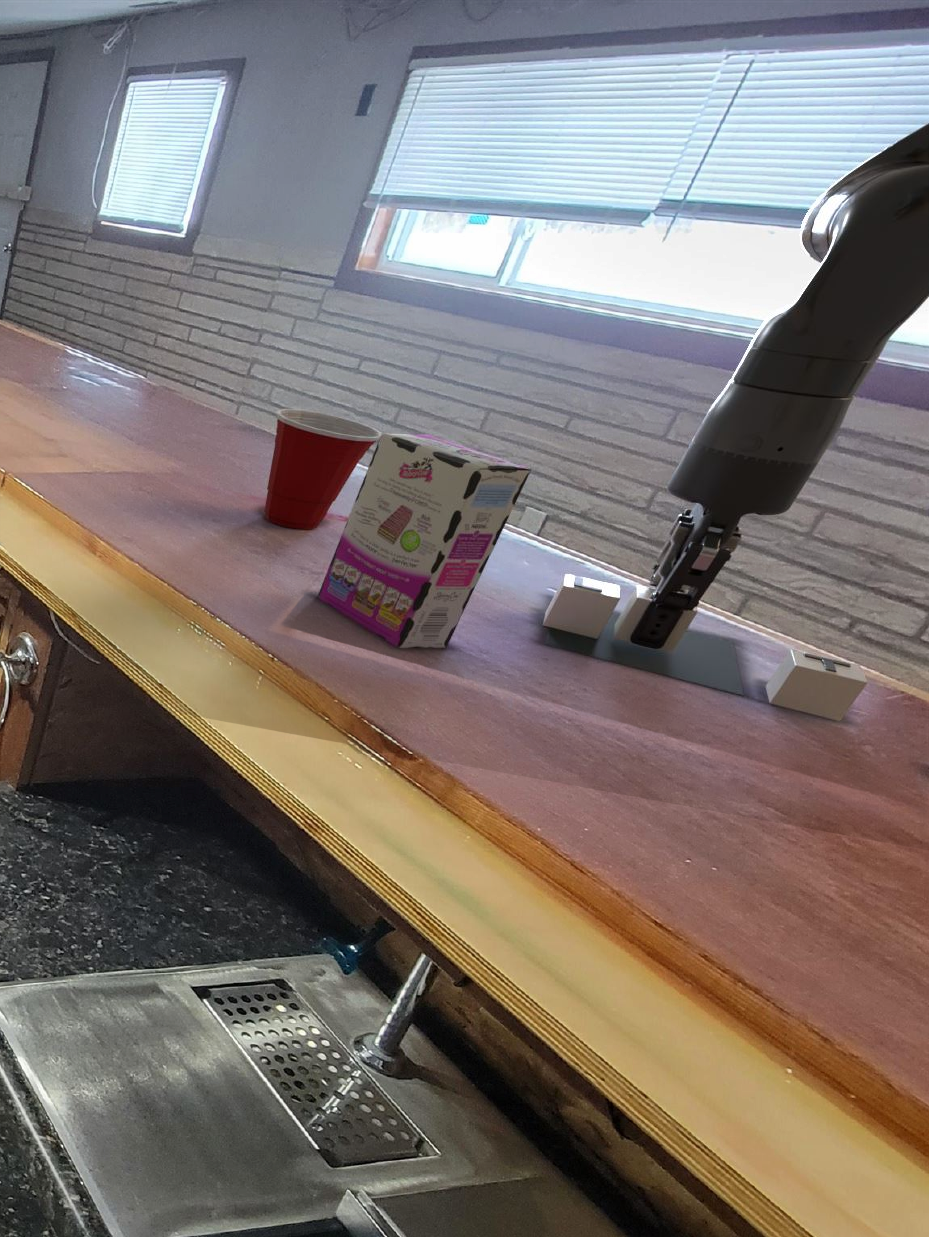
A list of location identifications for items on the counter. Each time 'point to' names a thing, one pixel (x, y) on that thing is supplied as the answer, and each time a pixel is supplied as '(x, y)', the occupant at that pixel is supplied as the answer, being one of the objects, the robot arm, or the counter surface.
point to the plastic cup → (312, 465)
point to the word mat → (661, 656)
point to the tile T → (816, 684)
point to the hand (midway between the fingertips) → (644, 635)
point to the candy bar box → (420, 537)
